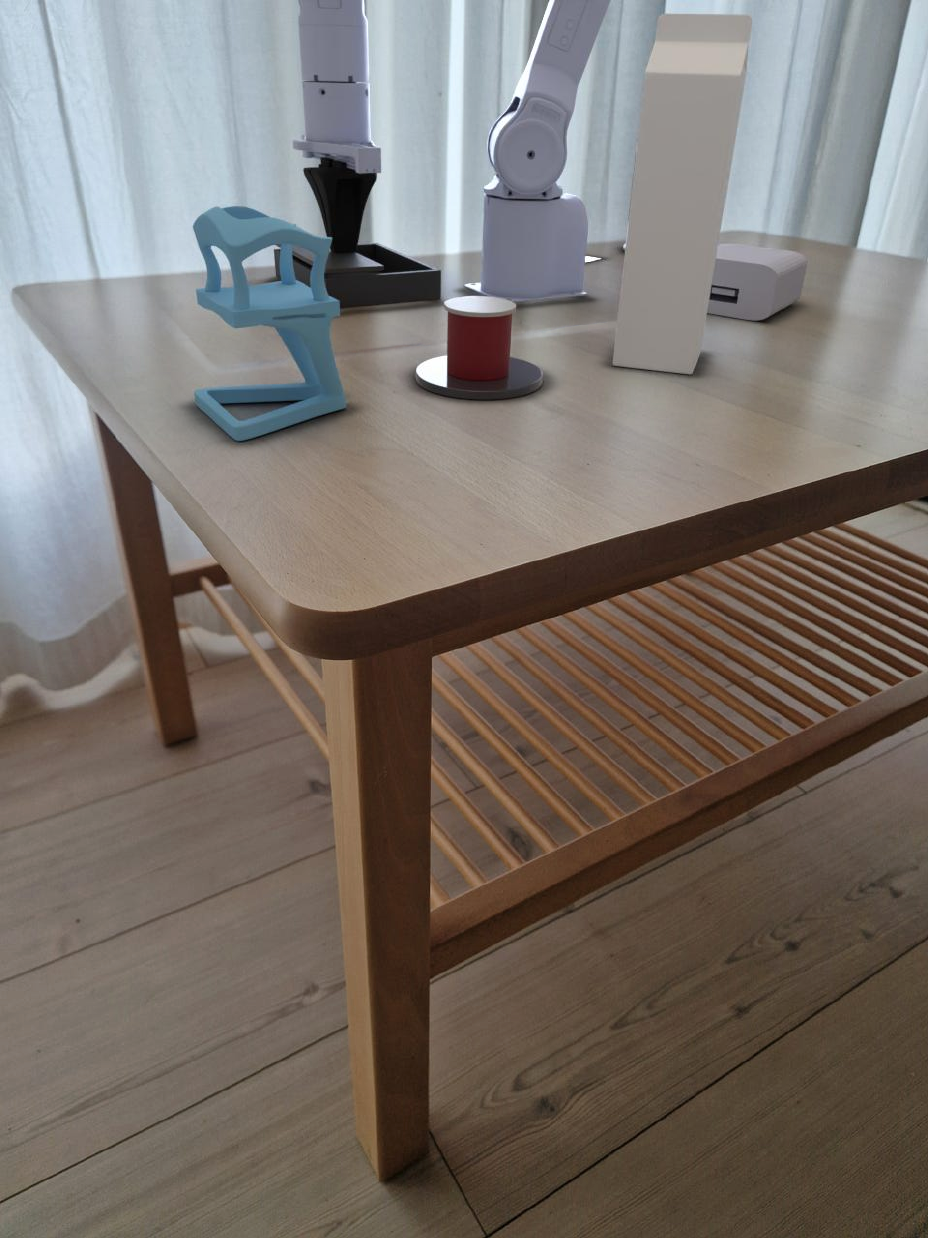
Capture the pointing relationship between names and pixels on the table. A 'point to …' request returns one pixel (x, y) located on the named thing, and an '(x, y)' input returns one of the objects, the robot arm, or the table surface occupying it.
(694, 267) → the milk
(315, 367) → the chair
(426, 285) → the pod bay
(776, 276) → the charger
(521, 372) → the coaster
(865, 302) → the table surface
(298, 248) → the flap
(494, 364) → the cylinder
